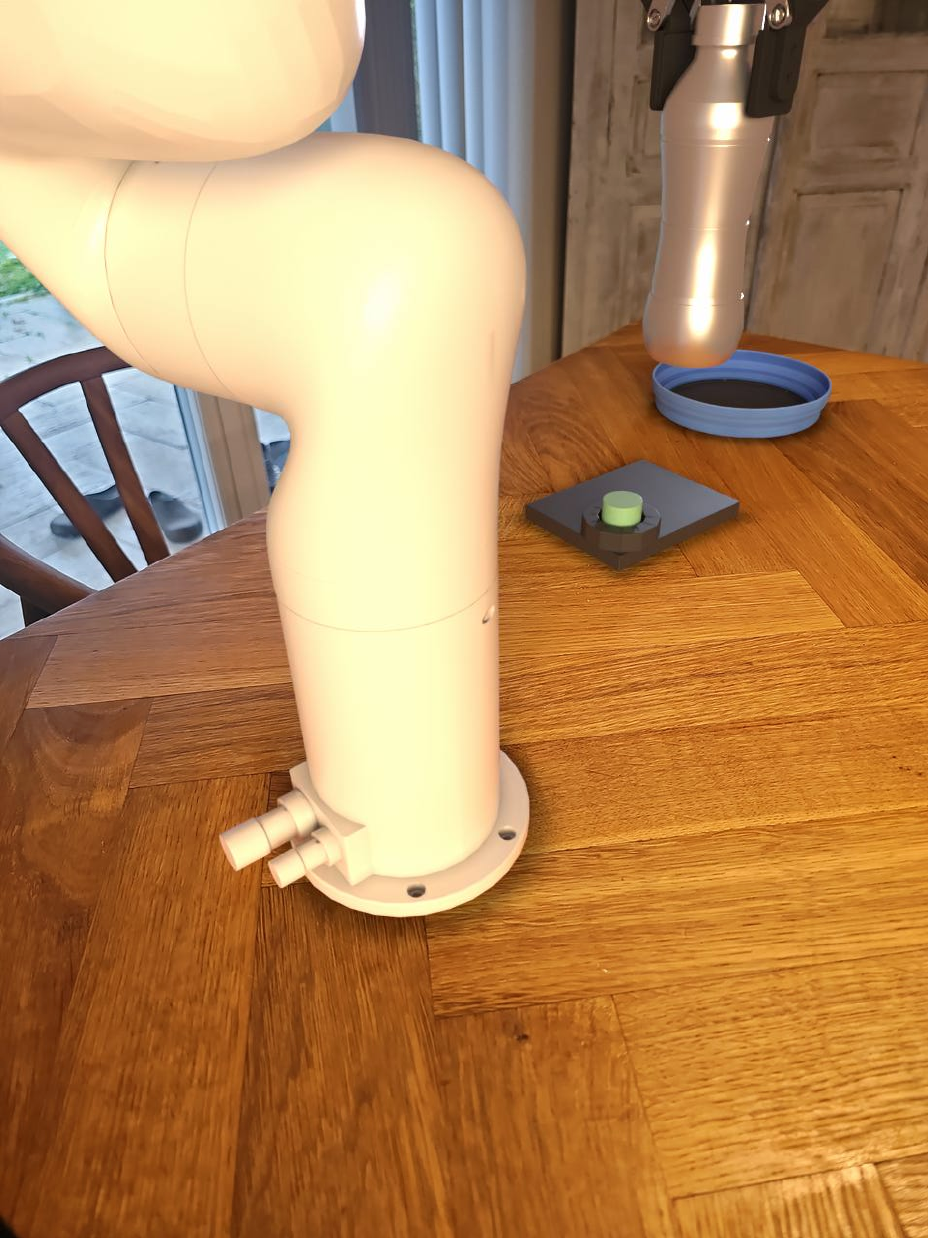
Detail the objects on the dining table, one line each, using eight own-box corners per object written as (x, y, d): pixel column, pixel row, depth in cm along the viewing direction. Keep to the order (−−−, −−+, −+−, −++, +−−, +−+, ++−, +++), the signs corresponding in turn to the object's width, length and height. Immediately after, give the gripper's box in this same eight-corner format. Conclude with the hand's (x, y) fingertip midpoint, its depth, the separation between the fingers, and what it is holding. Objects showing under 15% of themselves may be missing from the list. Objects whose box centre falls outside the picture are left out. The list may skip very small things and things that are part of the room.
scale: (618, 576, 64) (621, 542, 62) (521, 520, 71) (521, 488, 70) (742, 518, 71) (748, 485, 69) (641, 472, 78) (644, 442, 77)
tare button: (621, 533, 64) (622, 512, 63) (593, 518, 66) (594, 498, 65) (648, 520, 65) (651, 500, 64) (620, 507, 67) (622, 486, 66)
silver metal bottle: (698, 387, 55) (750, 4, 43) (618, 362, 59) (645, 7, 47) (756, 363, 58) (820, 1, 46) (677, 340, 62) (716, 4, 50)
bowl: (620, 420, 89) (623, 387, 87) (688, 369, 101) (692, 339, 99) (794, 457, 80) (801, 421, 78) (845, 397, 92) (853, 365, 90)
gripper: (583, -297, 43) (570, 110, 54) (897, -421, 32) (803, 128, 42) (684, -279, 47) (653, 100, 57) (1001, -385, 35) (890, 114, 46)
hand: (717, 108), depth 50 cm, fingers closed on silver metal bottle, 6 cm apart
